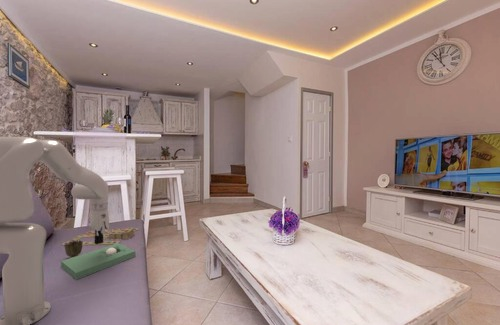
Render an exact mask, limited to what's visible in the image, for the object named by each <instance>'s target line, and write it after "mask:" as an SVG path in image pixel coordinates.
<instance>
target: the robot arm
mask: <svg viewBox="0 0 500 325" xmlns="http://www.w3.org/2000/svg"><path fill="white" fill-rule="evenodd" d="M36 163H42V164H44V165H45V166H46V167H47V168H48V169H49V170H50V171H51V172H52V173H53V174H54V175H55V176H56V177H57V178H58V179H60V180H62V181H65V182H69V183H73V184H75V185H74V186H72V188H71V190H70V191H71V196H72V197H73V198H74V199H77V200H89V212H90V215H89V216H90V218H89V219H90V221H89V222H90V223H89V226H90V228H91V229H92V230H94V234H93V235H96V236H95V237H94V242H95V244H100V243H103V241H104V240H103V235H104V233H105V229H106V230H108V229H110V219H109V218H110V217H109V211H108V210H109V201H108V200H109V191H110V190H109V184H108V182H106V181H105V179H103V178H102V176H100V175H99V174H98V173H96V172H95V171H92V170H90V169H88V168H86V167H85V166H82V165H81V164H80V163H79V162H78V161H77V160H76V159H75V158H74V156H73V155H72V154H71V153H70V151H69V150H68V149H67V148H66V147H65V145H63V143H61V142H60V141H57V140H53V139H38V138H35V137H29V136H0V254H4V255H6V254H7V255H8V258H7V259H6V261H5V262H4V264H3V267H2V270H1V277H2V297H3V298H2V299H3V316H1V317H0V325H30V324H31V325H32V324H35V323H36V322H39V320H41V319H43V318H44V317H45V316H46V315H48V314H49V312H50V310H51V306H52V305H51V303H50V302H49V301H47V300H45V276H44V271H45V270H44V251H45V250H44V249H45V244H46V241H47V231H46V229H45V228H44V227H43V226H42V225H40V224H38V223H33V222H24V221H27V220H28V219H30V218H31V217H32V216H33V215H34V212H35V207H34V206H35V204H34V200H33V195H32V190H31V186H30V182H29V179H30V178H29V175H30V172H31V170H32V169H33V167H34V166H35V164H36ZM105 234H106V233H105Z"/></svg>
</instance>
